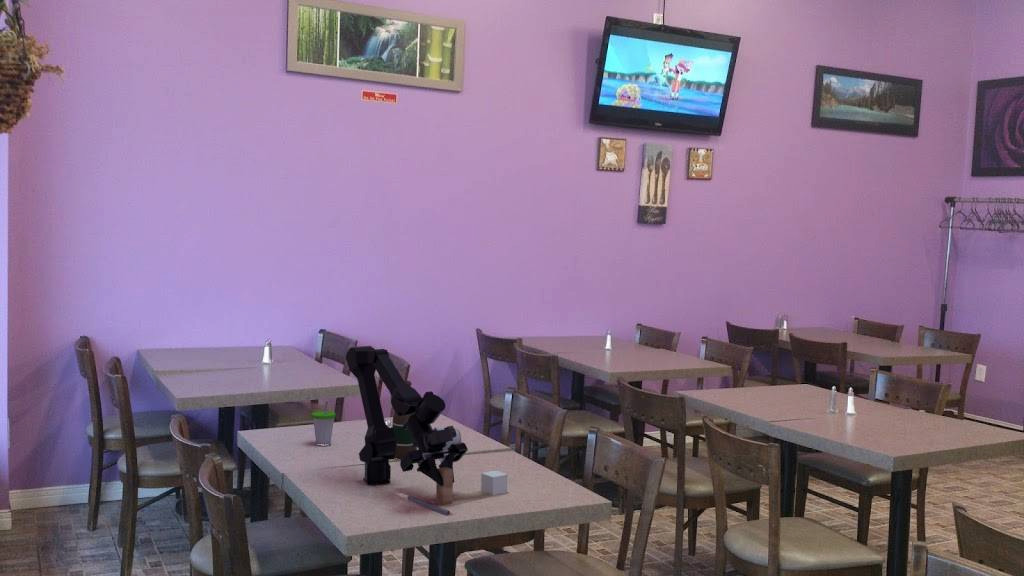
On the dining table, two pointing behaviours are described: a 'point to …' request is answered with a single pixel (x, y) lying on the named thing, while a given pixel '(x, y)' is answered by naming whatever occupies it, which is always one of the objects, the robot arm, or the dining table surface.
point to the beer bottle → (402, 435)
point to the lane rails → (428, 505)
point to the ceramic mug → (455, 439)
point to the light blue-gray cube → (494, 483)
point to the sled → (446, 491)
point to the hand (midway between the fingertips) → (447, 483)
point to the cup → (323, 425)
